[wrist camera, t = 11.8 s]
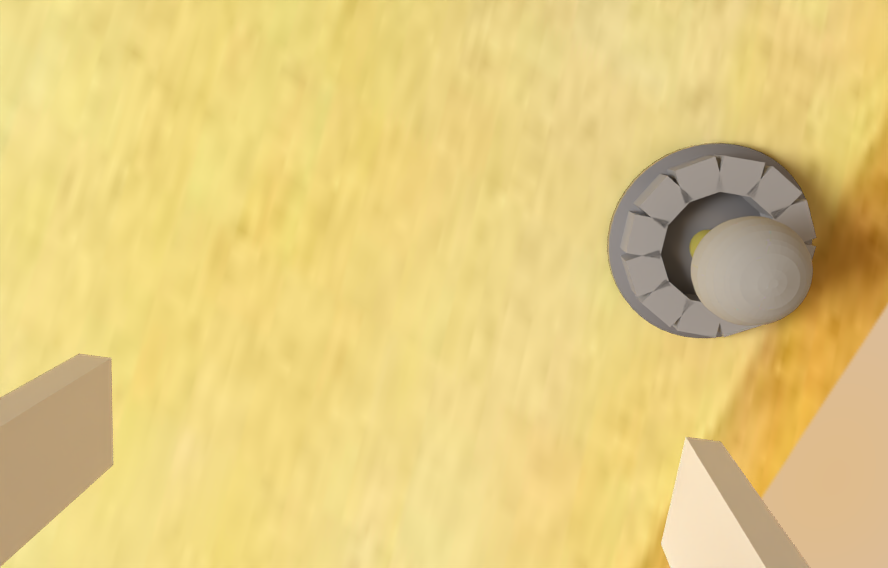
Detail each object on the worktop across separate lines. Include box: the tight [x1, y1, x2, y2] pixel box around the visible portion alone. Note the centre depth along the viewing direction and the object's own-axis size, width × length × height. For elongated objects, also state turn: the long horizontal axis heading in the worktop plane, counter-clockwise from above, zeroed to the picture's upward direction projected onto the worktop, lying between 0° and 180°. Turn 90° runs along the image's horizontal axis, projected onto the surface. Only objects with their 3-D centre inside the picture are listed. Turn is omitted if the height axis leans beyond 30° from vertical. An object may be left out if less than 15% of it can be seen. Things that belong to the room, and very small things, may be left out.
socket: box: [607, 143, 816, 338], centre depth 39 cm, size 12×12×3 cm
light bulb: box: [689, 216, 813, 326], centre depth 34 cm, size 5×6×10 cm
